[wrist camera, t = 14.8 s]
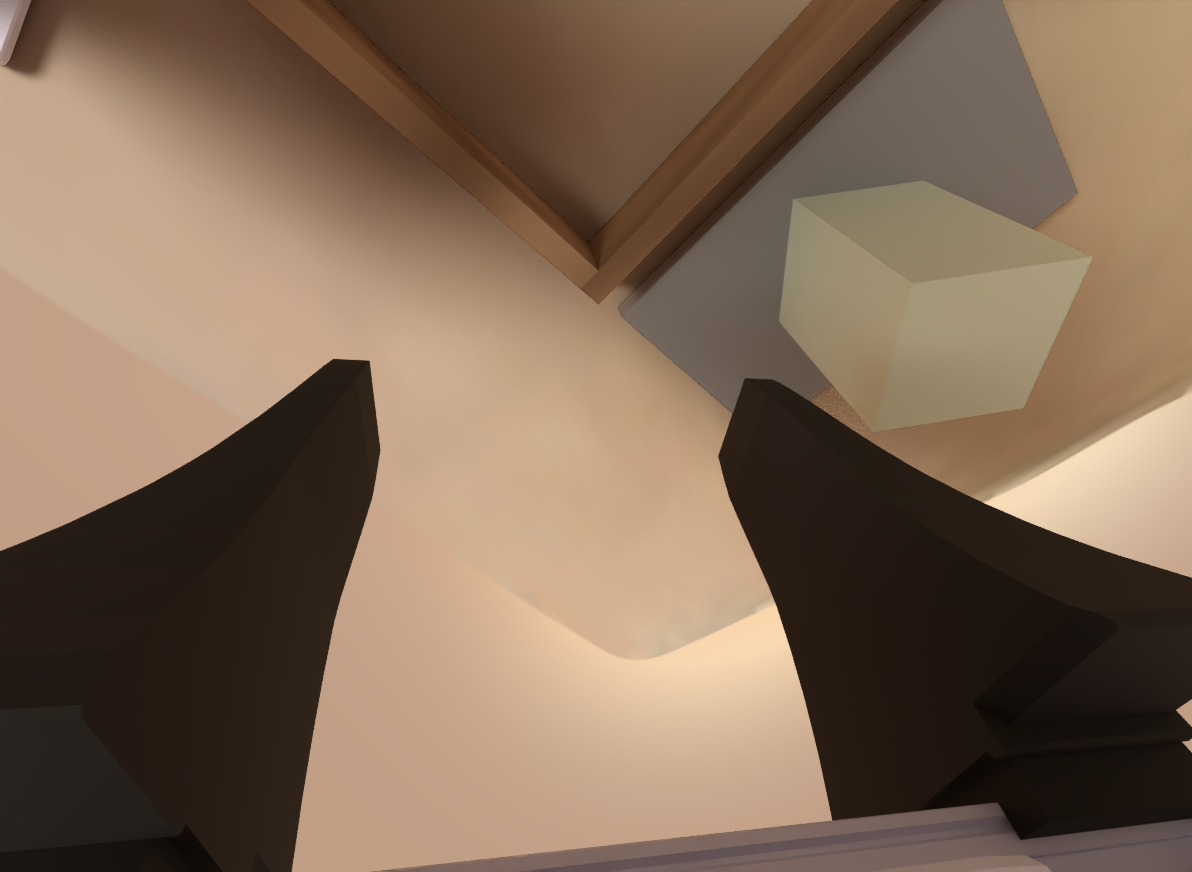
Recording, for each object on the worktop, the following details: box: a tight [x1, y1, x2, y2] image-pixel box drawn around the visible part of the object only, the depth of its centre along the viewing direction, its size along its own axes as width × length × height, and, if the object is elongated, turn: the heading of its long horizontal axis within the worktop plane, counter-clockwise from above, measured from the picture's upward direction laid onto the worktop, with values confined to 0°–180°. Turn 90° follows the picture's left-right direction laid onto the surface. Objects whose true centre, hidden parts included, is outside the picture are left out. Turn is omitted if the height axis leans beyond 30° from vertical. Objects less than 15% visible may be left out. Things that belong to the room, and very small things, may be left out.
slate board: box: [618, 0, 1078, 414], centre depth 21 cm, size 9×14×1 cm, turn 136°
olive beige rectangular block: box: [779, 181, 1093, 433], centre depth 18 cm, size 4×5×7 cm
